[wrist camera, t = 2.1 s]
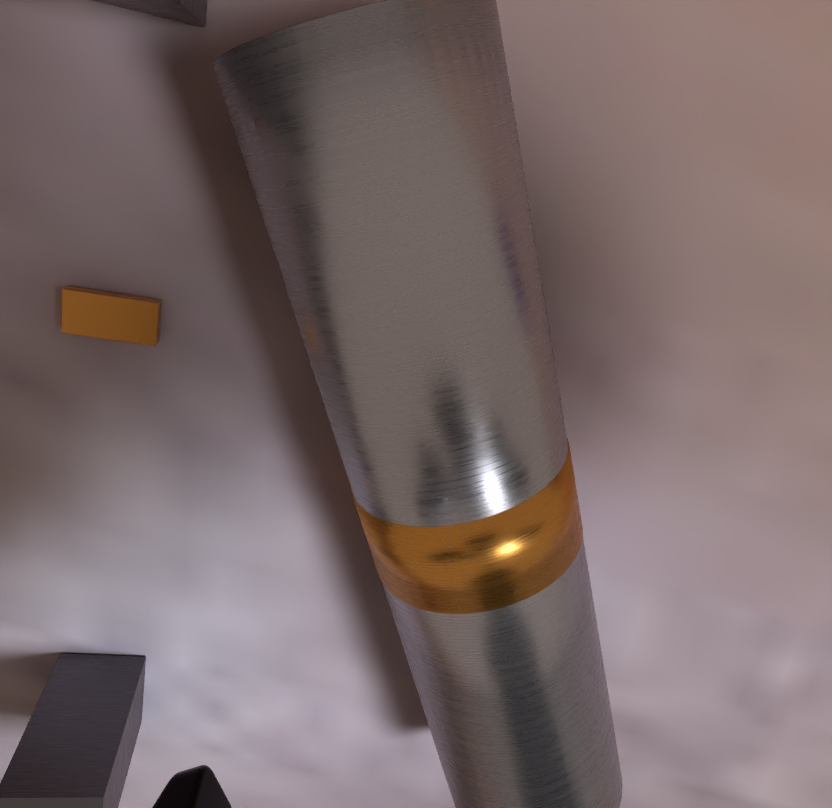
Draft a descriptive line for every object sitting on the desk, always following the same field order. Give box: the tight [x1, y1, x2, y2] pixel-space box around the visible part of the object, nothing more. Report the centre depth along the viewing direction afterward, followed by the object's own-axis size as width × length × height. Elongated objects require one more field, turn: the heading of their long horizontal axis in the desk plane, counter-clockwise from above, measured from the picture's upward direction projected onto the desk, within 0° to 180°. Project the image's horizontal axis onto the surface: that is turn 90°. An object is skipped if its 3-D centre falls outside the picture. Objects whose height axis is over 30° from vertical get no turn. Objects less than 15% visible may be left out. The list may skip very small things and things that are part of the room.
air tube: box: [213, 0, 622, 808], centre depth 13 cm, size 16×4×4 cm, turn 14°
